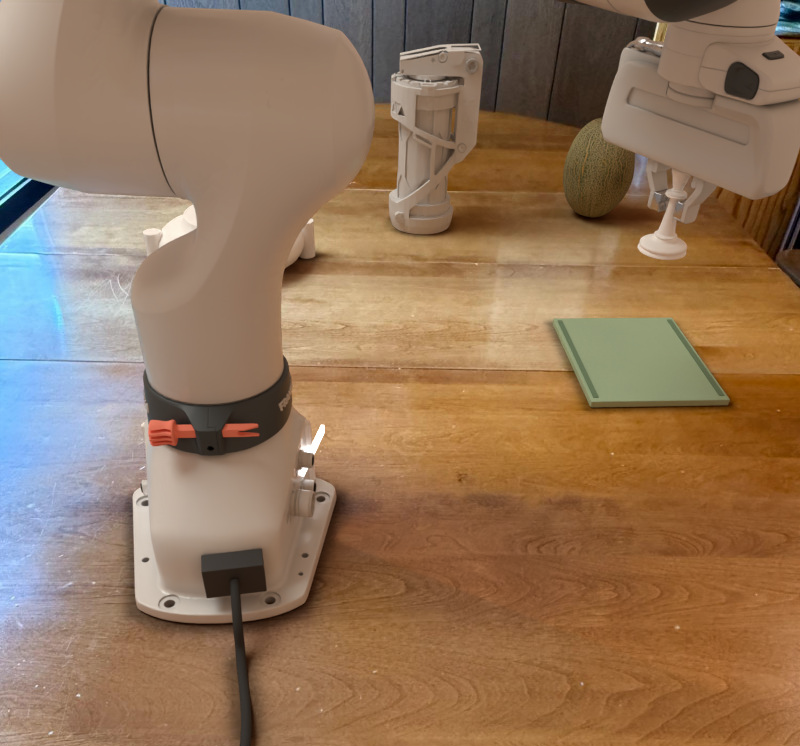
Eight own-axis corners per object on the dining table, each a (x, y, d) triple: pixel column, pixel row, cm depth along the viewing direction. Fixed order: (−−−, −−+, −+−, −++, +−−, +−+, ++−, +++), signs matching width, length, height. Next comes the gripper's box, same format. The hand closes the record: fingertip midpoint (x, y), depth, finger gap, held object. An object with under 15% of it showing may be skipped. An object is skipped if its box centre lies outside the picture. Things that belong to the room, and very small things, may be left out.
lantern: (388, 234, 122) (391, 51, 106) (388, 210, 130) (391, 36, 113) (469, 236, 123) (486, 54, 106) (465, 212, 131) (479, 39, 114)
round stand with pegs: (153, 305, 102) (142, 252, 97) (146, 236, 119) (137, 188, 114) (331, 289, 107) (329, 237, 103) (301, 225, 124) (298, 178, 120)
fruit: (636, 223, 129) (659, 125, 119) (578, 230, 126) (597, 130, 116) (599, 199, 137) (618, 106, 127) (544, 206, 134) (558, 110, 124)
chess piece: (631, 253, 79) (656, 149, 72) (644, 236, 82) (669, 135, 75) (679, 264, 77) (709, 158, 71) (691, 246, 81) (721, 144, 74)
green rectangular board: (728, 405, 88) (730, 398, 87) (590, 407, 87) (591, 400, 86) (670, 322, 103) (672, 316, 102) (552, 323, 102) (553, 317, 101)
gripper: (603, 35, 73) (576, 187, 82) (788, 88, 61) (731, 259, 70) (650, 29, 75) (618, 177, 85) (836, 78, 63) (775, 244, 73)
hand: (670, 214), depth 77 cm, fingers closed on chess piece
